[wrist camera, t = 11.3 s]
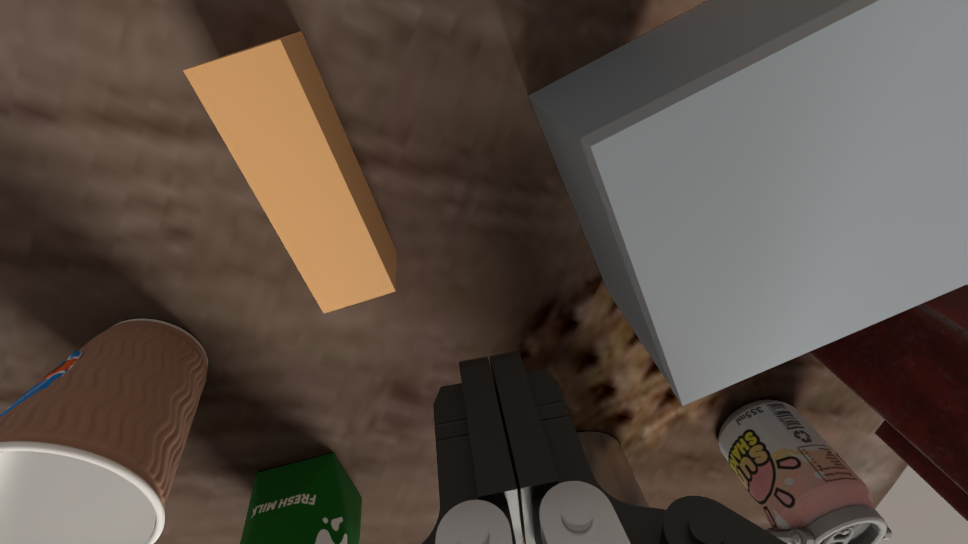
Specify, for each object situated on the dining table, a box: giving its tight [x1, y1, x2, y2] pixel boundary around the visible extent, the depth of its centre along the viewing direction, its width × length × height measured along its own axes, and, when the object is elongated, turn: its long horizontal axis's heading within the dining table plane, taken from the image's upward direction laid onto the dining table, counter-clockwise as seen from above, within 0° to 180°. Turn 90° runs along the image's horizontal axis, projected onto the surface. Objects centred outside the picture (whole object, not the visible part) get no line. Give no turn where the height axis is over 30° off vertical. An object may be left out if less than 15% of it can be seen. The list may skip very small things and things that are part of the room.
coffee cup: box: [0, 318, 208, 544], centre depth 29 cm, size 10×10×12 cm
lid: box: [581, 0, 968, 406], centre depth 22 cm, size 17×20×1 cm
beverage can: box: [718, 399, 892, 544], centre depth 43 cm, size 9×8×12 cm
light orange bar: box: [184, 31, 397, 313], centre depth 27 cm, size 14×4×5 cm, turn 15°
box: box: [528, 0, 850, 384], centre depth 27 cm, size 16×20×10 cm
